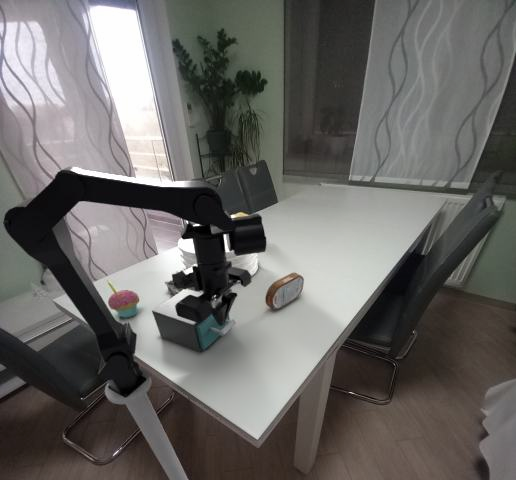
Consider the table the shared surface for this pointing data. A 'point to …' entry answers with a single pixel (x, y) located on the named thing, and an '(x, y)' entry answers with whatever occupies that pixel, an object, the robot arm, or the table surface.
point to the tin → (284, 290)
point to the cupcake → (123, 302)
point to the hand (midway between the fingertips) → (221, 325)
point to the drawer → (212, 330)
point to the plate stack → (240, 261)
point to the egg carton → (173, 289)
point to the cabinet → (177, 322)
